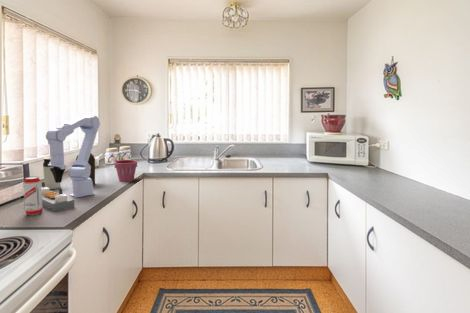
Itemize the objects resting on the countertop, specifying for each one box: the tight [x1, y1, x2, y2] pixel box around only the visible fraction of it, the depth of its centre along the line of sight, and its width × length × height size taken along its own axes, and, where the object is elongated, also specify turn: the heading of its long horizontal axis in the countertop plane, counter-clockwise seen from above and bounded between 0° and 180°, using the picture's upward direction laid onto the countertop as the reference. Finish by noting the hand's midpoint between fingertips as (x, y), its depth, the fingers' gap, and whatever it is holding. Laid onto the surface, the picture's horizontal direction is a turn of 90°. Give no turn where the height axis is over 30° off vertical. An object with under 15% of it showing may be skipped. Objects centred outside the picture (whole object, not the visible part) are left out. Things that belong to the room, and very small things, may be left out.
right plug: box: [55, 187, 68, 202], centre depth 139 cm, size 4×4×6 cm
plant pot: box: [113, 159, 138, 183], centre depth 200 cm, size 14×14×13 cm
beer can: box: [23, 175, 44, 216], centre depth 131 cm, size 6×6×16 cm
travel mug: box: [42, 156, 61, 190], centre depth 176 cm, size 8×8×18 cm
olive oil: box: [75, 152, 96, 186], centre depth 185 cm, size 11×11×25 cm
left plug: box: [41, 181, 51, 194], centre depth 151 cm, size 4×4×6 cm
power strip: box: [42, 190, 76, 213], centre depth 146 cm, size 9×26×4 cm, turn 52°
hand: (58, 182), depth 146 cm, fingers closed
